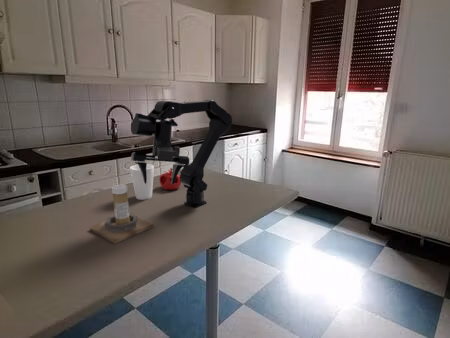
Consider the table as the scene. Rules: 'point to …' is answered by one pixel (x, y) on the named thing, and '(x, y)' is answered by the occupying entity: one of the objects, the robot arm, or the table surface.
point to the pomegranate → (169, 181)
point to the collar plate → (120, 234)
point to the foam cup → (142, 181)
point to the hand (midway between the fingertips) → (159, 183)
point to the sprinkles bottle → (121, 204)
